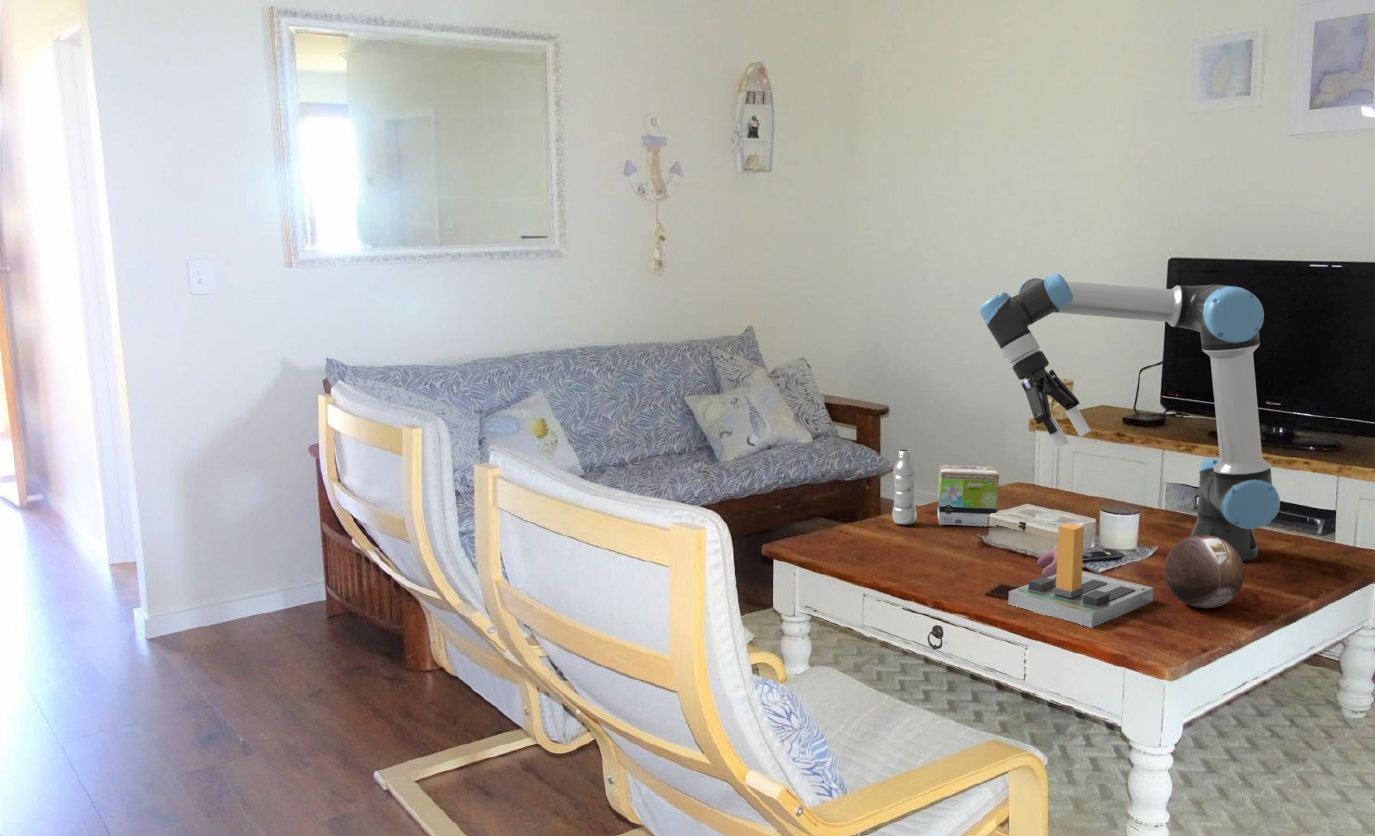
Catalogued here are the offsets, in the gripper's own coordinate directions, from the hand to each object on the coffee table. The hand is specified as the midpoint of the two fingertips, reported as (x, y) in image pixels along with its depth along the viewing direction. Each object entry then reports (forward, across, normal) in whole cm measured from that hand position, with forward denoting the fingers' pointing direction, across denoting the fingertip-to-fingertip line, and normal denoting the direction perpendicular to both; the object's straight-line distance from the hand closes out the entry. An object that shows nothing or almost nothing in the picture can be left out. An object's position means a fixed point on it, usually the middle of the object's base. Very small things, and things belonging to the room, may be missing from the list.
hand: (1074, 439), depth 255 cm
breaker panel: (+30, +20, -8) cm, 38 cm away
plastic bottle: (-1, -17, -60) cm, 63 cm away
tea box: (+6, -28, -50) cm, 58 cm away
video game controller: (+24, +2, -20) cm, 31 cm away
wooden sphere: (+42, +8, +8) cm, 44 cm away
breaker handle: (+27, +25, -7) cm, 38 cm away
